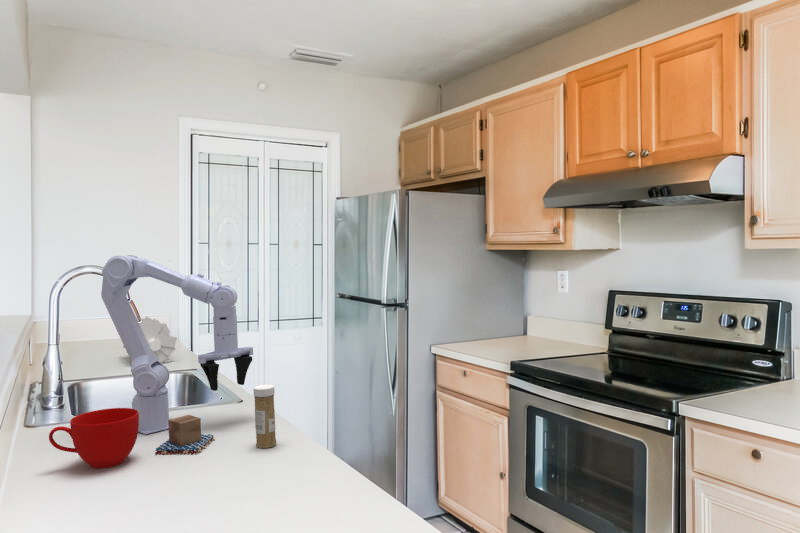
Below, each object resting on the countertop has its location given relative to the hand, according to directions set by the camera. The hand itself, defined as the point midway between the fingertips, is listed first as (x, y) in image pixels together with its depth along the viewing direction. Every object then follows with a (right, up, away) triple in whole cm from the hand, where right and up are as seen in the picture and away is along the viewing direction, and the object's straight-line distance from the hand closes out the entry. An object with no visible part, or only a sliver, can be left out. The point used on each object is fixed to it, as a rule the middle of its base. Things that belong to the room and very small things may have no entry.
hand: (227, 387), depth 152 cm
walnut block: (-5, -9, -17) cm, 20 cm away
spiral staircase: (-59, -8, +94) cm, 111 cm away
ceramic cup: (-20, -11, -27) cm, 35 cm away
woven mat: (-5, -11, -17) cm, 21 cm away
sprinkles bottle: (+14, -10, -18) cm, 24 cm away
